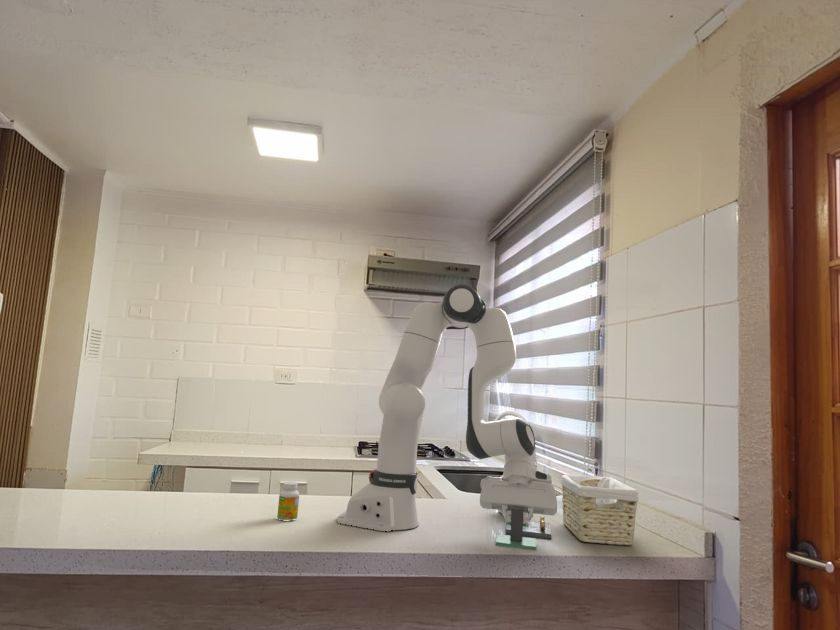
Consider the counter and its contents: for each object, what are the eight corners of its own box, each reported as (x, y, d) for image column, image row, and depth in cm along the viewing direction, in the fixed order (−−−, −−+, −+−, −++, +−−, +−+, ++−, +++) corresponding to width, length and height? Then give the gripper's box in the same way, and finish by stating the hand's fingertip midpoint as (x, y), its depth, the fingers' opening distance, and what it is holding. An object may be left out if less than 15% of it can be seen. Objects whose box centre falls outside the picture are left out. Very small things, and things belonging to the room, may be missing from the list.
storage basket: (558, 522, 164) (559, 472, 166) (612, 526, 163) (612, 476, 165) (577, 544, 141) (578, 486, 143) (640, 549, 140) (640, 490, 142)
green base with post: (495, 545, 135) (497, 509, 136) (497, 537, 143) (499, 502, 144) (536, 550, 133) (537, 513, 134) (536, 541, 141) (537, 506, 142)
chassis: (505, 533, 146) (506, 520, 147) (507, 523, 158) (508, 510, 159) (551, 538, 144) (551, 524, 144) (549, 528, 156) (549, 515, 156)
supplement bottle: (273, 520, 146) (276, 483, 147) (282, 516, 151) (286, 480, 152) (291, 522, 144) (294, 485, 146) (300, 518, 150) (303, 482, 151)
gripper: (481, 468, 149) (476, 513, 138) (557, 475, 145) (558, 521, 134) (481, 482, 153) (476, 527, 142) (555, 490, 149) (556, 535, 138)
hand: (517, 524), depth 138 cm, fingers closed on green base with post, 3 cm apart
